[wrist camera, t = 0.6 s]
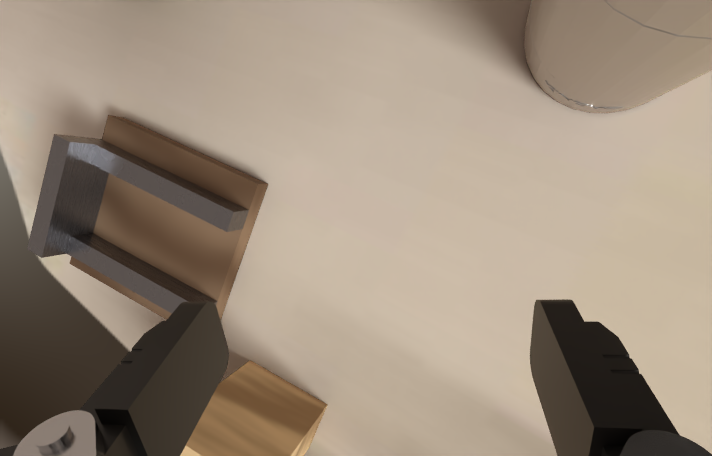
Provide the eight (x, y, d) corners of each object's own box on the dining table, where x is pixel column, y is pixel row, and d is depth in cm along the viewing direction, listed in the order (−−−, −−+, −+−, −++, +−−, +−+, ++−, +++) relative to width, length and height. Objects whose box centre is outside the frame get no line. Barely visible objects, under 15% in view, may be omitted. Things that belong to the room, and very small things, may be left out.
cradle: (123, 117, 36) (60, 106, 30) (268, 184, 33) (225, 184, 27) (85, 260, 38) (21, 272, 33) (215, 334, 35) (167, 361, 30)
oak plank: (250, 360, 35) (159, 428, 25) (327, 404, 33) (262, 495, 24) (234, 402, 35) (141, 483, 26) (309, 447, 34) (238, 551, 24)
